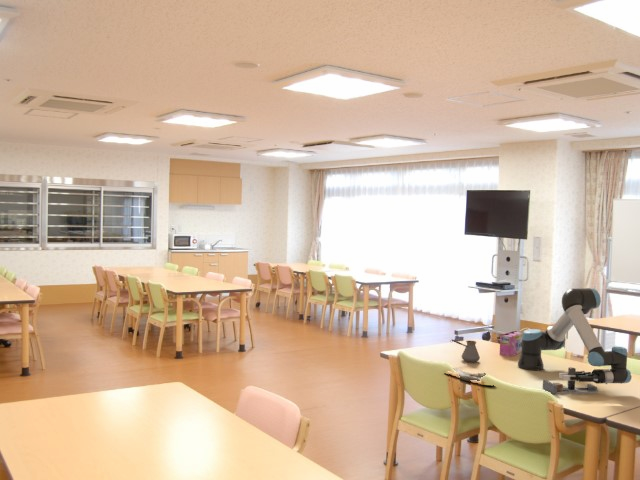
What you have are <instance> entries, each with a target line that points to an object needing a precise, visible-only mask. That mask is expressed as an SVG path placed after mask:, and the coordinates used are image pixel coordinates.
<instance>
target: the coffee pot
mask: <svg viewBox="0 0 640 480" xmlns="http://www.w3.org/2000/svg"><path fill="white" fill-rule="evenodd" d="M451 341H452V342H453V343H456V344H458V345H461V346H462V347H465V348H464V350H463V352H462V355H461V359H462V360H463V361H464V362H465V363H469V364H470V363H471V364H475V363H478V362H479V360H480V358H481V357H480V355H479V352H478V349H477V345H476V344H477V341H475V340H466V344H463V343H462V342H460V341H457V340H456V339H451V340H450V341H449V342H450V343H452V342H451Z"/></svg>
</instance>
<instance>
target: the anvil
mask: <svg viewBox="0 0 640 480" xmlns="http://www.w3.org/2000/svg"><path fill="white" fill-rule="evenodd" d="M553 383H554V382H551V381H549V380H547V379H542V389H543V390H545V391H546V390H547V391H546V392H548V391H549V392H548V393H550V392H551V393H550V394H552V395H553V394H557V385H555V384H553Z"/></svg>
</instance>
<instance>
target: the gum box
mask: <svg viewBox="0 0 640 480" xmlns="http://www.w3.org/2000/svg"><path fill="white" fill-rule="evenodd" d="M522 333H523V332H518V331H517V330H515V331H514V330H513V331H510V332H506V333H503V334H500V336H499V337H500V338H499V339H500V340H499V355H500V356H507V357H514V356H516V355H518V354H521V351H522Z"/></svg>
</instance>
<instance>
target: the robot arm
mask: <svg viewBox="0 0 640 480" xmlns="http://www.w3.org/2000/svg"><path fill="white" fill-rule="evenodd" d="M601 299H602V298H601V295H600V293H599V291H598V290H597V289H595V288H590V287H587V288H586V287H585V288H570V289H567V290H566V291H565V292H564V293H563V295H562V298H561V307H562V309H563V313H562V315H561V316H560V317H559V318H558V319H557V320H556V322H555V323H554V324H553V325H549V326H548V327H547V328H546V330H545V331H542V330H541V329H538V328H537V329H536V328H529V329H525V330H523V332H521V333H522V351H521V353H520V356H519V359H518V361H517V367H518V368H520V369H523V370H528V371H529V370H530V371H542V370H544V361H543V358H542V351H557V350H560V349H562V348H564V346H565V344H566V334H567V333H568V332H569V331H570V330H571V329H572V327H573V326H574V328H575V329H576V331H577V333H578V336H579V338H580V340H581V341H582V343H583V346H584V347H585V348H586V350H587V352H588V354H587V362H588V364H589V365H590V366H593V367H606V366H608V367H609V366H610V368H601V369H596V368H594V369H593V370H592V371H585V370H581V371H578V370H576V373H575V375H568V372H559V373H558V379H563V381H564V382H565V381H567V382H568V381H573V380H575V382H576V381H577V382H579V383H585V382H586V383H595V384H597V385H598V384H605V385H608V384H627V383H630V382H631V380H632V373H631V371H630V370H629V369H627V364H628V362H627V361H628V349H627V348H626V347H622V346H613V347H611V350H609V351H605V350H604V348H603V347H602V345H601V343H600V341H599V339H598V338H597V336H596V333H595V332H594V330H593V328H592V327H591V324H590V322H589V321H588V319H587V317H586V316H585V315H587V314H589V312H591V310H592V309H593V310H594V309H598V308H599V307H600V306H601V302H602V301H601Z"/></svg>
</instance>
